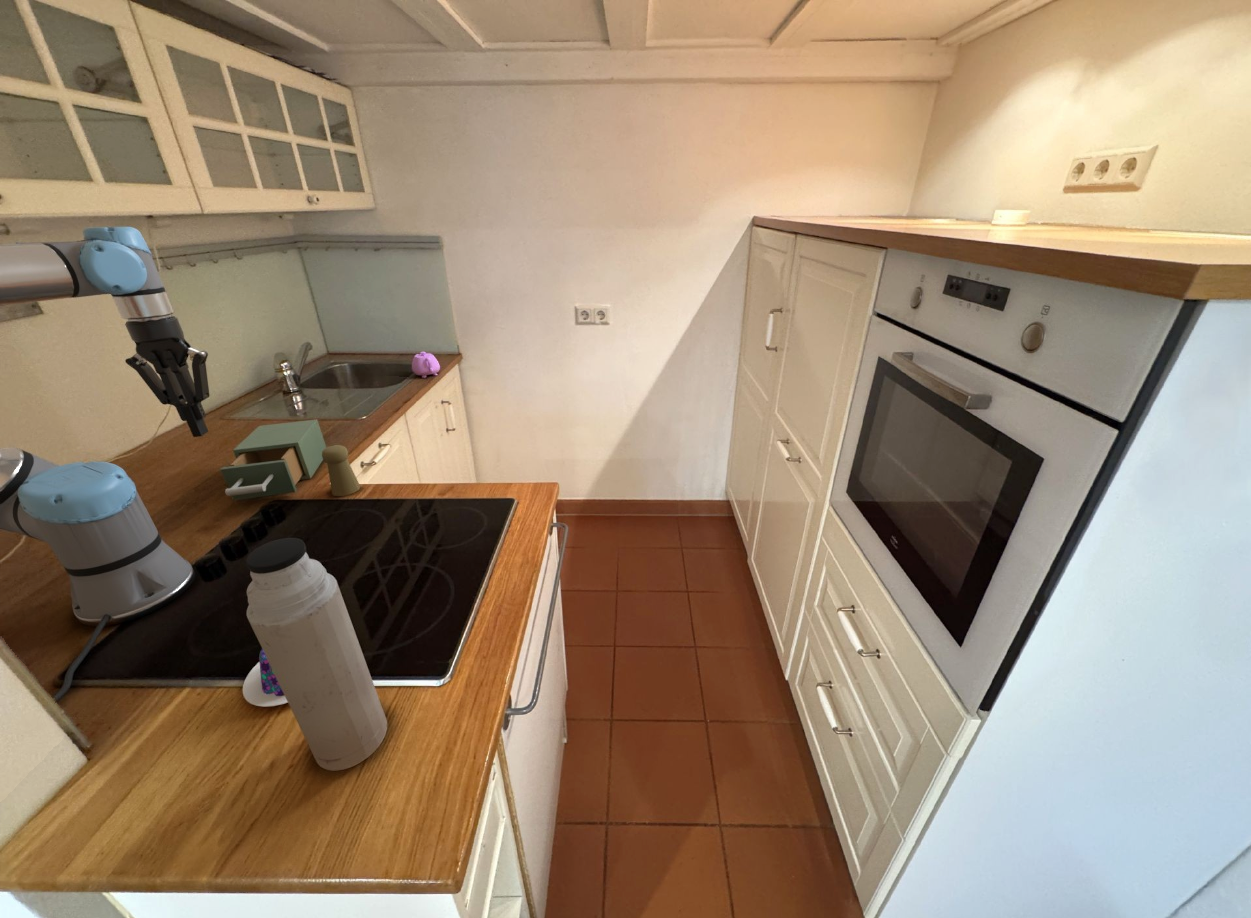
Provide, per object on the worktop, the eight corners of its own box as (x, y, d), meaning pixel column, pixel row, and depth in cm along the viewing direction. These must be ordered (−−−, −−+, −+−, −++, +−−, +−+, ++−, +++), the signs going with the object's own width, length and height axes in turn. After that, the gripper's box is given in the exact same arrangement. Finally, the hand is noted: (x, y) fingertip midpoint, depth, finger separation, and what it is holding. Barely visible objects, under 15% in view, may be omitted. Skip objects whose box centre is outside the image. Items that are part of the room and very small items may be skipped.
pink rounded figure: (420, 380, 196) (415, 357, 192) (407, 373, 207) (402, 350, 203) (446, 375, 202) (441, 352, 198) (432, 368, 213) (427, 346, 209)
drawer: (285, 507, 109) (272, 475, 106) (219, 516, 107) (204, 483, 103) (314, 465, 128) (304, 436, 124) (258, 472, 125) (247, 443, 122)
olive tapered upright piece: (326, 492, 116) (311, 450, 112) (349, 481, 121) (336, 440, 116) (342, 498, 114) (328, 455, 109) (366, 486, 119) (353, 444, 114)
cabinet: (310, 478, 123) (298, 442, 119) (247, 486, 120) (232, 450, 116) (328, 452, 137) (317, 419, 133) (272, 459, 134) (259, 425, 130)
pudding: (305, 630, 77) (294, 604, 75) (362, 652, 73) (352, 625, 70) (224, 693, 67) (208, 665, 65) (284, 723, 63) (270, 694, 60)
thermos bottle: (298, 760, 58) (202, 569, 46) (350, 702, 65) (278, 522, 53) (353, 779, 56) (268, 583, 44) (401, 717, 63) (339, 533, 51)
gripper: (200, 312, 97) (244, 424, 108) (123, 316, 95) (175, 431, 105) (178, 318, 91) (227, 437, 101) (94, 324, 88) (153, 445, 99)
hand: (201, 434), depth 103 cm, fingers closed
